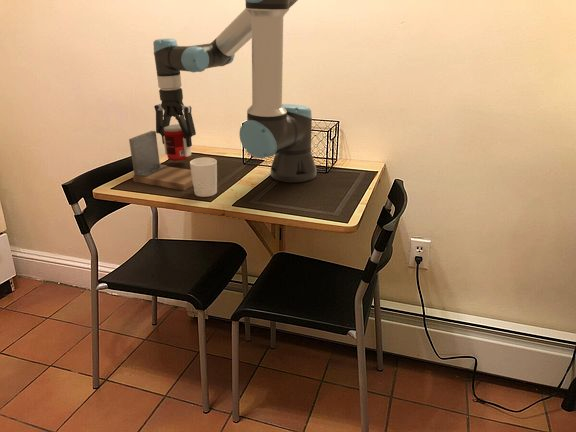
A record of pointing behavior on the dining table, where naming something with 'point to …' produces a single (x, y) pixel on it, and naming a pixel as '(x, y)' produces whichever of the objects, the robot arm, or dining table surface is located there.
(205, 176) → the white cup
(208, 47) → the robot arm
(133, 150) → the bookend
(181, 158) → the canned food
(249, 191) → the dining table surface
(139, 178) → the shelf board
